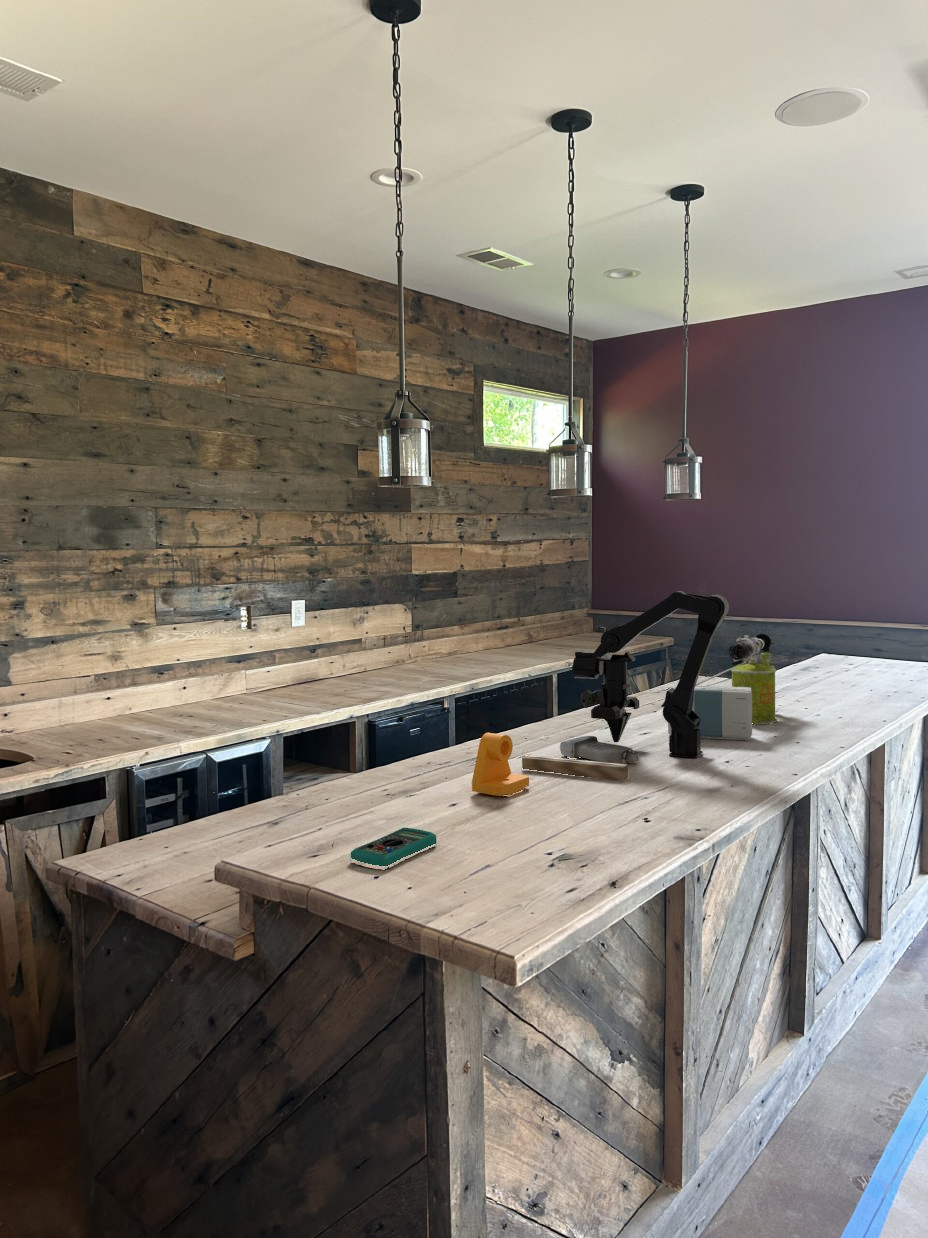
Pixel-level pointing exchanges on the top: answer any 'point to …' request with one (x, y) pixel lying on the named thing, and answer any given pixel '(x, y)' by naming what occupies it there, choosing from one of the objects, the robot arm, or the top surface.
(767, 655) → the blowtorch
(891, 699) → the top surface
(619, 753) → the handheld device
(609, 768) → the beam
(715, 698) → the stereo radio cassette player
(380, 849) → the digital multimeter
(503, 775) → the bracket
